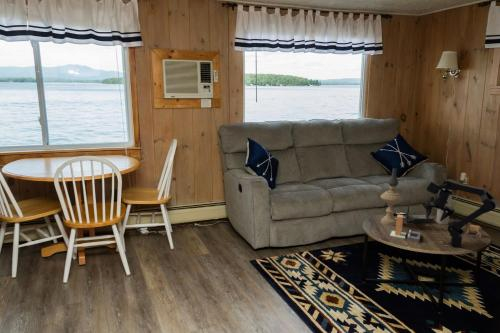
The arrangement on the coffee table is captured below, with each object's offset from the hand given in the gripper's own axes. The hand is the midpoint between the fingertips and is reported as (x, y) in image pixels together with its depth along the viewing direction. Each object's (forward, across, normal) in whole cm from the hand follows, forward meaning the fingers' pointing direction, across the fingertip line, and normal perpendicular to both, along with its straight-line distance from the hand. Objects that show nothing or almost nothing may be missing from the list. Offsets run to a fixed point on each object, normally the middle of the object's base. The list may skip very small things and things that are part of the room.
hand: (433, 219), depth 243 cm
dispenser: (+14, +9, +3) cm, 17 cm away
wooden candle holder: (+20, +15, -24) cm, 35 cm away
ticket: (+16, +18, -1) cm, 24 cm away
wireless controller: (+18, -7, -31) cm, 37 cm away
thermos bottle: (+14, -24, -29) cm, 40 cm away
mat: (+16, +18, -1) cm, 24 cm away
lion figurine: (+9, -33, -8) cm, 35 cm away
